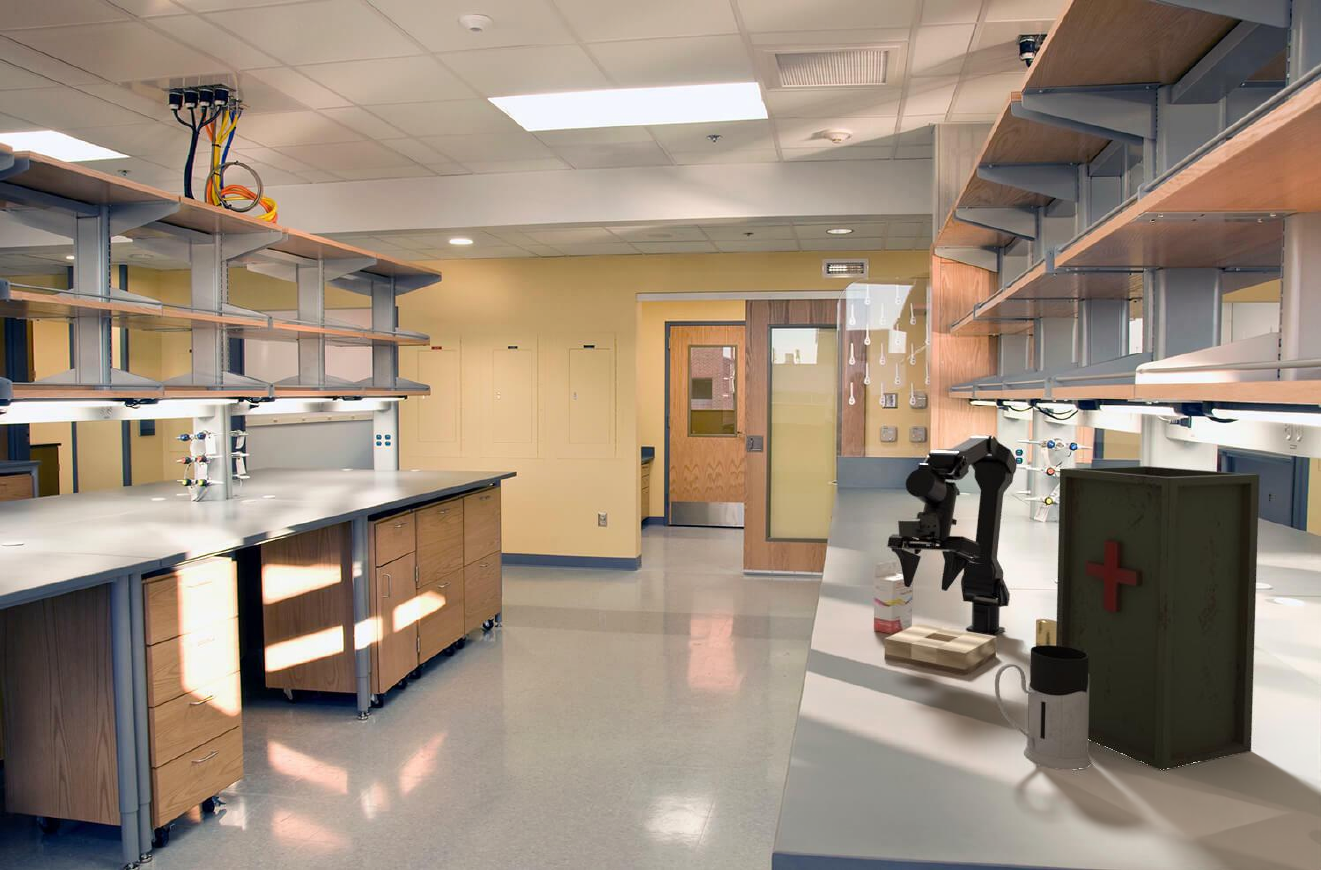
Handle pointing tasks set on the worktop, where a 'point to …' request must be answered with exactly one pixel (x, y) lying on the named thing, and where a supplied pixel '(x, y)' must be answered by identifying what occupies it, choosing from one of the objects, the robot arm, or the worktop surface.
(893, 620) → the ink cartridge box
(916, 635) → the bore block
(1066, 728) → the glass holder
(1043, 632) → the pin
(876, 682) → the worktop surface
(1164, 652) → the first aid box
